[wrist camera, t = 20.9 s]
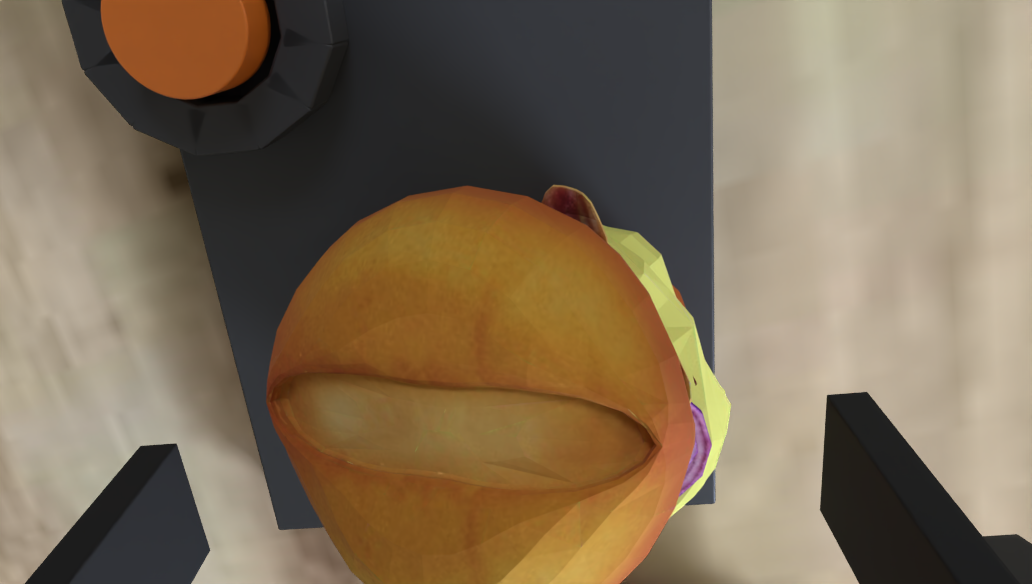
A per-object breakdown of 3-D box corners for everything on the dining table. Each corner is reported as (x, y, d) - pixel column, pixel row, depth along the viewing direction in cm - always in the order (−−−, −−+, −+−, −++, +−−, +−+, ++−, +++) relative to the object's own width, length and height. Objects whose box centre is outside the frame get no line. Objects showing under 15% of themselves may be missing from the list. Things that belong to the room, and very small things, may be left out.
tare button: (118, -46, 17) (79, -49, 16) (254, -62, 17) (228, -67, 16) (156, 97, 19) (123, 106, 17) (284, 84, 18) (262, 92, 17)
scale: (110, -95, 20) (25, -112, 17) (695, -166, 19) (727, -198, 16) (266, 497, 27) (227, 567, 23) (704, 469, 26) (727, 538, 22)
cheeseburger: (492, 568, 25) (384, 832, 15) (310, 291, 24) (78, 382, 15) (775, 421, 22) (862, 626, 13) (579, 108, 22) (513, 72, 12)
